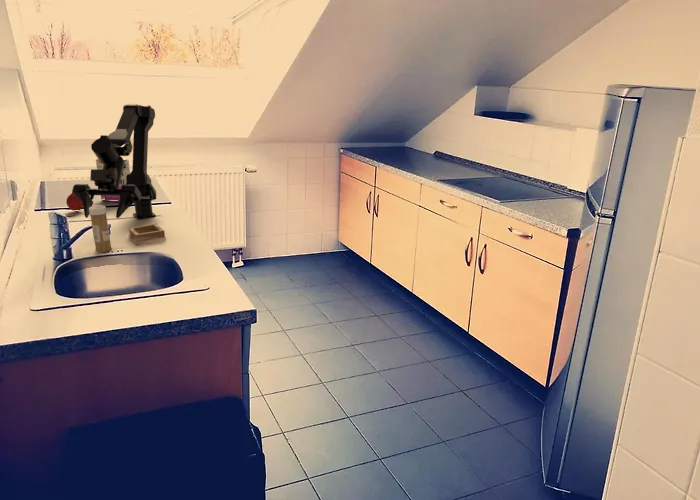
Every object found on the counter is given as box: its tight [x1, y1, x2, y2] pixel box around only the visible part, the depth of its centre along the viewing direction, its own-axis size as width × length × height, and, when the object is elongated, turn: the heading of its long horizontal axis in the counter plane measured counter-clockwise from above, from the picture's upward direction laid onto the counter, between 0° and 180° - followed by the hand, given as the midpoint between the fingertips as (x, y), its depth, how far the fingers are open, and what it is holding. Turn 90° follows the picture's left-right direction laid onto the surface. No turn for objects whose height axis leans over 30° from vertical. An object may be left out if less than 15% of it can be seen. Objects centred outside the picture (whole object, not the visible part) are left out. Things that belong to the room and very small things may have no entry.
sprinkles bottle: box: [89, 204, 112, 254], centre depth 167 cm, size 5×5×13 cm
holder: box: [128, 223, 167, 246], centre depth 180 cm, size 9×9×3 cm
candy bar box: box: [95, 158, 131, 201], centre depth 218 cm, size 11×5×16 cm, turn 77°
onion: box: [65, 191, 84, 211], centre depth 205 cm, size 6×6×8 cm
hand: (101, 217), depth 168 cm, fingers open, 9 cm apart
